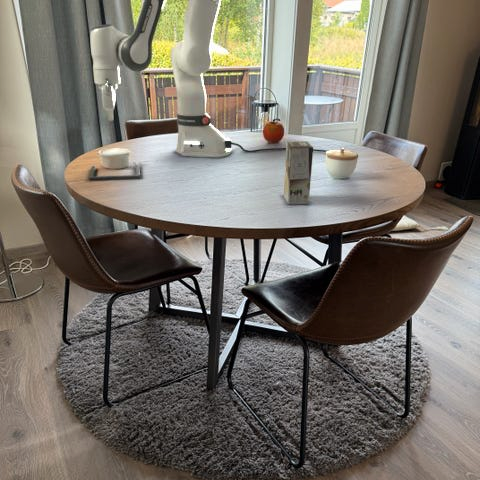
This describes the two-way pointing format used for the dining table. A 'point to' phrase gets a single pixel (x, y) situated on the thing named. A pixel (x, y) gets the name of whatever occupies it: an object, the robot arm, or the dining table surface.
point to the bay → (92, 178)
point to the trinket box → (341, 163)
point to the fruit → (273, 131)
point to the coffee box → (298, 172)
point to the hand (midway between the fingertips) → (111, 120)
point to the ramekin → (115, 158)
